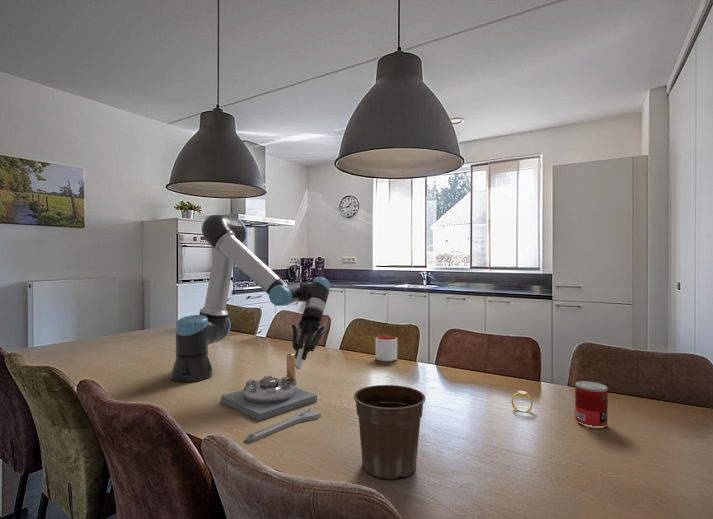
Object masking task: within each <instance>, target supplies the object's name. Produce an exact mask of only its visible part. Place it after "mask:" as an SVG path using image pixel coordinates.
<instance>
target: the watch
mask: <svg viewBox="0 0 713 519" xmlns="http://www.w3.org/2000/svg"><path fill="white" fill-rule="evenodd" d="M517 396H521V397H527V398H528V399H529V400H530V403H531V404H530V406H529V408H527V409H526V410H527V411H529V412H531V410H532V409H533V406H534V405H533V404H534V403H533V399H532V397H531V395H529V394H528V392H527V391H524V390H517V391H516V392H515V393H514V394H513V395H512V396H511V397H512V398H511V406H512V408H513V409H514V410H515V411H516V410H517V409H518V407H517V406H516V405H515V403H514V399H515V397H517Z"/></svg>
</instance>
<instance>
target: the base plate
mask: <svg viewBox="0 0 713 519" xmlns="http://www.w3.org/2000/svg"><path fill="white" fill-rule="evenodd" d="M220 399H221V401H220V403H222V404H225V405H226V406H229V407H231V408H233V409H235V410H237V411H239V412H241V413H243V414H244V415H247V416H249V417H251V418H253V419H256V420H257V421H259V422H260V421H263V420H267V419H268V418H272V417H274V416H278V415H280V414H284V413H286V412H289V411H291V410H295V409H298V408H301V407H304V406H308V405H310V404H313V403H316V402H318V394H315V393H313V392H309V391H306V390H304V389H301V388H299V387H295V386H294V396H293V397H292V398H291V399H289V400H287V401H284V402H280V403H275V404H254V403H250V402H247V401H246V400H245V399H244V389H242V390H238V391H235V392H230V393H226V394H223V395H220Z"/></svg>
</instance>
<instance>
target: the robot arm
mask: <svg viewBox="0 0 713 519" xmlns="http://www.w3.org/2000/svg"><path fill="white" fill-rule="evenodd" d="M201 234H202V237H203V238H204V240H205V241H206V243H208V245H210V247H211V248H212V250H213V254H212V255H213V257H212V259H211V260H212V262H211V267H210V272H209V280H208V285H207V291H206V296H205V301H204V302H205V303H204V306H203V307H202V308H200V309H199V314H194V315H193V314H192V315H187V316H183V317H180V318H179V319H178V320H177V321H176V325H175V330H174V331H175V360H174V362H173V366H172V370H171V372H170V380H171V381H173V382H175V383H176V382H177V383H193V382H199V381H204V380H207V379H209V378H211V377H212V376H213V367H212V364H211V361H210V359H209V350H208V348H209V347H208V346H209V345H211V344H214V343H218V342H220V341H222V340H224V339H225V338H226V337H227V336H228V335H229V333H230V332H231V328H232V327H231V325H232V324H231V321H230V318H229V311H228V310H227V304H228V297H229V293H230V292H229V290H230V286H231V280H232V274H233V269H234V268H233V267H234V264H235V265H236V266H237V267H238V268H239V269H240V270H241V271H242V272H243V273H244V274H246V275H247V276H248V277H249V279H251V280H252V281H253V282H254V283H255V284H257V286H258V287H259V288H260V289H262V291H264V292H265V293H266V294H267V295H268V298H269V300H270V303H272V304H273V305H274V306H275V307H277V306H278V307H284V306H287V305H289V304H293V303H297V302H300V303H301V302H302V303H305V305H304V309H303V312H302V316H301V320H300V321H298V324H296V325H295V324H292V326H291V327H292V347H293V350H294V351H295V353H294V354H295V370H301V369H302V366H303V362H304V361H306V359H307V357H308V354H309V352H314V351H315V349H316V347H317V345H318V343H319V341H320V340H321V339H322V336H323V335H324V334H325V333H326V328H325V326H324V325H323V326H322V320H323V315H324V312H325V308H326V304H327V301H328V297H329V295H330V289H331V283H330V281H329V280H328V279H326V278H324V277H317V278H314V279H313V280H312V282H311V283H310V282H309V283H303V282H292V281H291V282H285V281H284V280H282V279H281V277H280V276H279V275H278V274H276V272H275V271H273V270H272V269H271V268H270V267H269V266H268V265H267V264H266V263H264V261H262V259H260V258H259V257H258V256H256V254H255V253H253V251H251V250H250V249H249V248H248V247H247V246H245V245H244V244H243V243H244V242H245V241H246V239H247V237H248V230H247V227H246V225H245V223H244V222H243V221H242V220H241V219H238V218H237V217H234V216H227V215H226V216H225V215H222V214H214V215H210V216H208V217H206V218H205V220H204V221H203V222H202V225H201ZM299 331H300V336H299Z"/></svg>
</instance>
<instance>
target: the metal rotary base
mask: <svg viewBox="0 0 713 519" xmlns="http://www.w3.org/2000/svg"><path fill="white" fill-rule="evenodd" d="M295 354H296V353H294V352H293V353H292V352H290V353H287V354H286V376H284V377H281V378H280V379H279V378H277V377H273V376H272V375H264V376H263V378H261V379H260V380H255V379H248V380H247V381H246V382H245V386H244V387H243V390H244V399H245V400H246V401H247V402H250V403H254V404H275V403H280V402H284V401H287V400H289V399H291V398H292V397H293V396H294V387H295V386H296V385H297V380H296V367H295V362H296V359H295Z"/></svg>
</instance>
